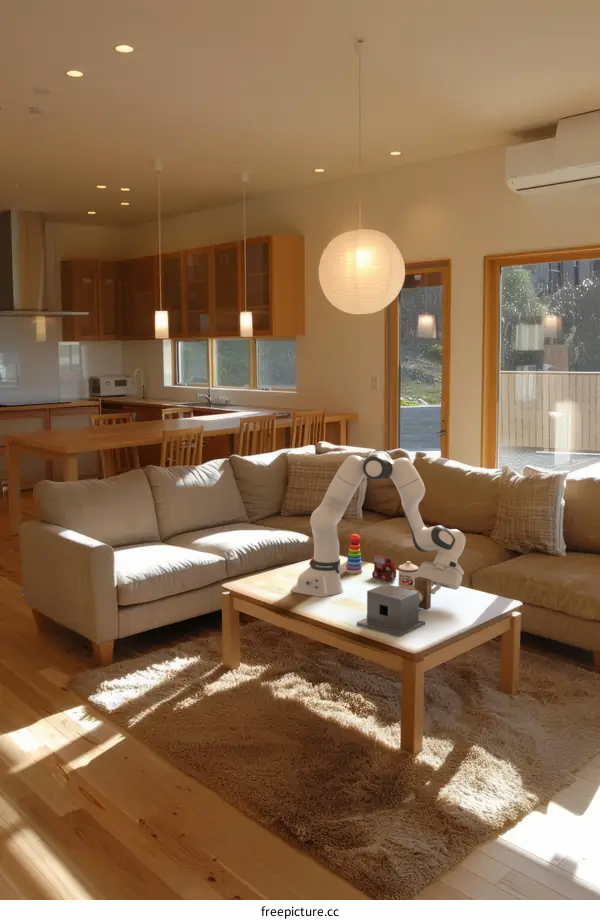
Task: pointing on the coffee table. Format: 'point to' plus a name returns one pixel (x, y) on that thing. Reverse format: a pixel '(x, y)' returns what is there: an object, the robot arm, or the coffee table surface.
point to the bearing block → (392, 610)
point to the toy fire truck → (383, 568)
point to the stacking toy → (354, 556)
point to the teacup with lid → (407, 575)
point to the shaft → (423, 592)
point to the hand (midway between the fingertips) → (430, 593)
